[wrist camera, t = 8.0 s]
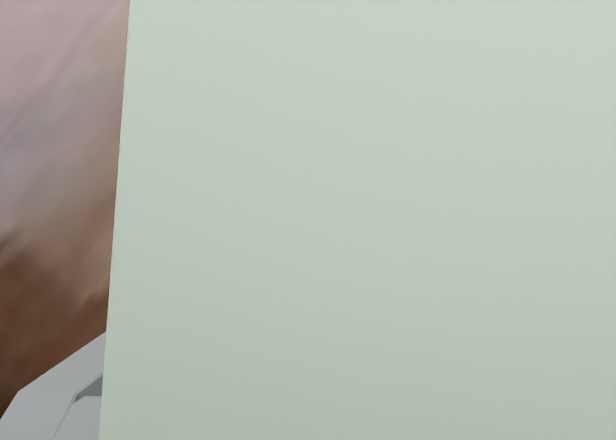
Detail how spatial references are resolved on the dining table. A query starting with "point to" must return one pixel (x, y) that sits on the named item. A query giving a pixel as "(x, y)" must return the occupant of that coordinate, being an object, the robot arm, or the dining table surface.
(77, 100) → the dining table surface
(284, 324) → the sage block
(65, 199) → the dining table surface
